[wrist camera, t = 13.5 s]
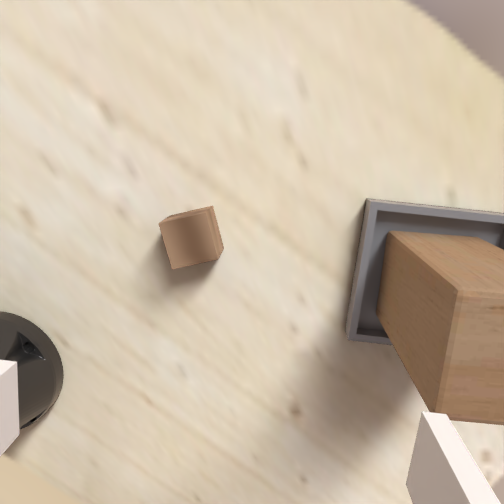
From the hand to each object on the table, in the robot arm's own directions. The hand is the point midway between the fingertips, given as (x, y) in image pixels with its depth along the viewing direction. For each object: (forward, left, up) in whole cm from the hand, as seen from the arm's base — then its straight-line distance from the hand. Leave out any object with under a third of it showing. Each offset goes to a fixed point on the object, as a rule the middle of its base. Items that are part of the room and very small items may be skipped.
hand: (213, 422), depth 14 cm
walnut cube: (-7, -2, -37) cm, 38 cm away
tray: (+19, -4, -37) cm, 42 cm away
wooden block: (+19, -4, -36) cm, 41 cm away
